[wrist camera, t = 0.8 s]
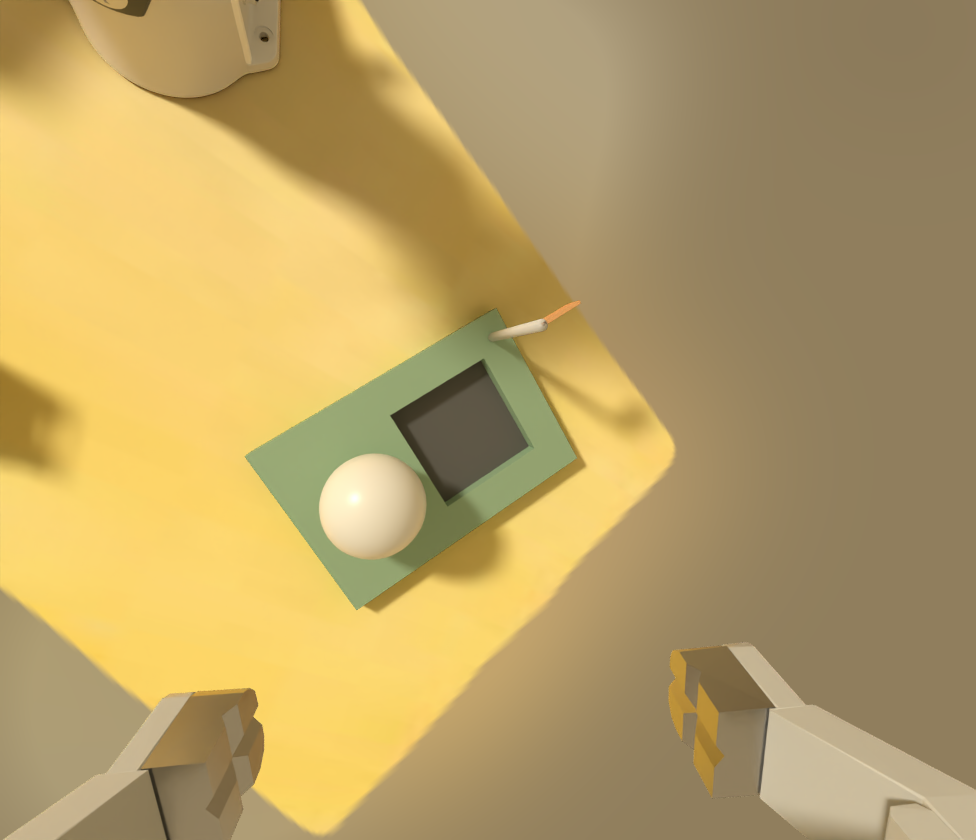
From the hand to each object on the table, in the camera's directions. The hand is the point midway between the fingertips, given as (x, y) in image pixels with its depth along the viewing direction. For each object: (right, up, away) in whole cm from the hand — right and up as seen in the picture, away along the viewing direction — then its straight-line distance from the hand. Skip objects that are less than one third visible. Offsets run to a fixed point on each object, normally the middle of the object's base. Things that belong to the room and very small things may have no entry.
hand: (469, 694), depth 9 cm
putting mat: (-6, +2, +45) cm, 46 cm away
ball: (-11, -3, +37) cm, 39 cm away
